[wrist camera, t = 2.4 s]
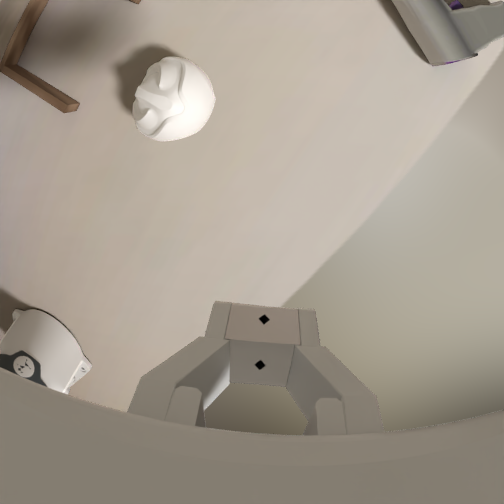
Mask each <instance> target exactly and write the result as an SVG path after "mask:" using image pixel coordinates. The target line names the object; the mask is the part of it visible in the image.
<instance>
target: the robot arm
mask: <svg viewBox="0 0 504 504" xmlns="http://www.w3.org/2000/svg"><path fill="white" fill-rule="evenodd" d="M12 316H13V324H12V325H11V327H10V328H9V329H8V331H7V332H6V334H5V335H4V336H3V338H2V339H1V341H0V350H1V354H0V504H504V410H500V411H497V412H493V413H490V414H486V415H481V416H477V417H474V418H469V419H465V420H460V421H455V422H450V423H445V424H440V425H434V426H428V427H421V428H415V429H407V430H399V431H390V432H384V429H383V424H382V419H381V414H380V410H379V405H378V401H377V397H376V395H375V394H373V392H372V391H370V390H369V389H368V388H367V387H366V386H365V385H364V384H363V383H362V382H361V381H360V380H359V379H358V378H357V377H356V376H355V375H354V374H353V373H352V372H351V371H350V370H349V369H348V368H347V367H346V366H345V365H344V364H343V363H342V362H341V361H340V360H339V359H337V358H336V357H335V356H334V355H333V354H332V353H331V352H330V351H329V350H328V349H327V348H326V347H323V346H320V339H319V332H318V325H317V318H316V312H315V310H314V309H305V308H298V309H295V308H280V307H267V306H259V305H249V304H240V303H230V302H221V301H215V303H214V304H213V308H212V311H211V315H210V319H209V322H208V326H207V330H206V333H205V337H198V338H197V339H195V340H194V341H193V342H191V343H190V344H188V345H187V346H185V347H184V348H183V349H181V350H180V351H178V352H177V353H175V354H174V355H173V356H171V357H170V358H168V359H167V360H165V361H164V362H163V363H161V364H160V365H158V366H157V367H155V368H154V369H152V370H151V371H149V372H148V373H147V374H145V375H144V376H142V377H141V379H140V381H139V384H138V386H137V389H136V391H135V394H134V396H133V399H132V401H131V404H130V406H129V409H128V411H127V412H124V411H120V410H116V409H113V408H109V407H106V406H102V405H99V404H95V403H92V402H89V401H86V400H82V399H79V398H76V397H73V396H70V395H68V393H69V391H70V388H69V387H71V386H72V385H73V384H74V383H75V382H77V381H78V380H79V379H80V378H81V377H83V376H84V375H85V374H86V373H87V372H89V371H90V369H91V368H92V365H91V363H90V362H89V361H88V360H87V358H86V357H85V356H84V355H83V353H82V351H81V348H80V346H79V344H78V343H77V341H76V340H75V338H74V337H73V335H72V334H71V333H70V332H69V331H68V330H67V329H66V328H65V327H64V326H63V325H62V324H61V323H60V322H59V321H57V320H56V319H55V318H53V317H52V316H50V315H48V314H46V313H44V312H42V311H39V310H35V309H30V310H27V311H22V310H18V309H15V310H14V311H13V313H12ZM229 382H231V383H244V384H260V385H269V386H281V387H286V389H287V390H288V392H289V393H290V395H291V396H292V398H293V399H294V401H295V402H296V404H297V405H298V407H299V408H300V410H301V411H302V413H303V414H304V415H305V417H306V418H307V420H308V424H307V426H306V429H305V431H304V433H303V435H276V434H260V433H246V432H237V431H228V430H218V429H212V428H206V425H205V417H204V410H205V409H206V408H207V407H208V406H209V405H210V404H211V403H212V402H213V401H214V400H215V399H216V398H217V396H218V395H219V394H220V393H221V392H222V391H223V390H224V389H225V388H226V387H227V386H228V385H229Z"/></svg>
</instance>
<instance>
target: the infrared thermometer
mask: <svg viewBox="0 0 504 504" xmlns="http://www.w3.org/2000/svg"><path fill="white" fill-rule="evenodd" d="M392 2H393V3H394V5H395V7H396V8H397V10H398V12H399V13H400V15H401V17H402V19H403V20H404V22H405V24H406V26H407V28H408V30H409V31H410V33H411V34H412V35H413V37H414V39H415V40H416V42H417V43H418V45H419V46H420V48H421V49H422V51H423V53H424V54H425V56H426V58H427V59H428V61H429V63H430V64H432V66H439V65H445V64H449V63H453V62H457V61H461V60H465V59H469V58H472V57H475V56H477V55H478V53H477V52H479V51H480V50H482V49H484V48H486V47H487V46H488V45H489V44H490V43H491V42H493V41H496V40H498V39H500V38H502V37H504V2H503V1H498V2H494V3H491V4H490V5H477V6H472V7H469V8H464V7H463V6H462V4H461V3H460V2H459V1H458V0H455V1H453V2H452V3H451V4H450V5H449V6H448V4H447V3H446V2H445V1H444V0H392Z"/></svg>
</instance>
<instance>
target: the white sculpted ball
mask: <svg viewBox="0 0 504 504" xmlns="http://www.w3.org/2000/svg"><path fill="white" fill-rule="evenodd" d="M135 97H136V100H135V101H134V102H133V110H132V113H133V118H134V120H135V124H136V127H137V129H138V130H139V131H140V132H141V133H142V134H143V135H145V136H146V137H148V138H151V139H153V140H156V141H172V140H177V139H181V138H185V137H188V136H190V135H193V134H195V133H196V132H198V131H199V130H200V129H201V128H202V127H203V126H204V125H205V123H206V122H207V120H208V119H209V117H210V115H211V113H212V110H213V107H214V104H215V99H216V98H215V95H214V92H213V87H212V84H211V81H210V79H209V78H208V76H207V74H206V73H205V72H204V71H203V70H202V69H201V68H200V67H199V66H197V65H196V64H194V63H192V62H191V61H190V60H189V59H186V58H181V57H164V58H163V59H161V60H160V62H157V63H154V64H153V65H151V66H150V67H149V68H148V69H147V73H146V76H145V78H144V79H143V81H142V83H141V85H140V86H138V88H137V90H136V93H135Z"/></svg>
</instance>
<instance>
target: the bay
mask: <svg viewBox="0 0 504 504" xmlns="http://www.w3.org/2000/svg"><path fill="white" fill-rule="evenodd" d="M48 1H49V0H30V2H29V3H28V5H27V7H26V9H25V11H24V13H23V15H22V17H21V19H20V20H19V22H18V25H17V27H16V29H15V31H14V33H13V35H12V37H11V39H10V42H9V44H8V46H7V49H6V51H5V53H4V56H3V58H2V61H1V63H0V72H2V73H3V74H5V75H6V76H8V77H9V78H11V79H13V80H14V81H16V82H17V83H19V84H20V85H22V86H23V87H25V88H26V89H28V90H29V91H31V92H33V93H34V94H36V95H37V96H39V97H40V98H42V99H43V100H45V101H46V102H48V103H49V104H51V105H52V106H54V107H55V108H57V109H58V110H60V111H62V112H63V113H68V112H73V111H77V108H78V106H79V104H80V103H79V102H77V101H75V100H74V99H72V98H71V97H69V96H68V95H66V94H64V93H63V92H61V91H59V90H58V89H56V88H55V87H53V86H51V85H50V84H48V83H47V82H45V81H43V80H42V79H40V78H38V77H37V76H35V75H33V74H32V73H30V72H28V71H27V70H25V69H23V68H22V67H20V66H18V65H17V63H18V60H19V58H20V56H21V53H22V51H23V49H24V47H25V44H26V42H27V40H28V38H29V36H30V34H31V32H32V30H33V28H34V26H35V24H36V22H37V20H38V18H39V17H40V15H41V13H42V11H43V9H44V8H45V6H46V4H47V2H48ZM130 1H132V2H134V3H137V4H139V3H140V1H141V0H130Z"/></svg>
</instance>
